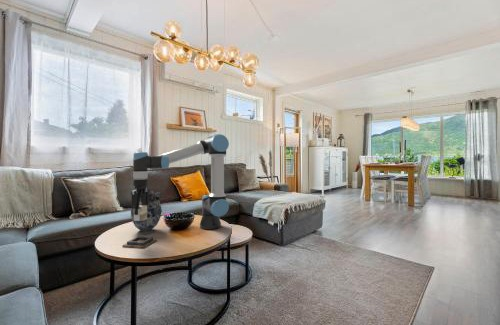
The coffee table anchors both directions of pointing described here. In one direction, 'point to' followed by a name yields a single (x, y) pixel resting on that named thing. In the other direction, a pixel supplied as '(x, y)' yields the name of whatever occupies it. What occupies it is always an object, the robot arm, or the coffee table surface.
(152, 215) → the decorative vase
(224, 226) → the coffee table surface
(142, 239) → the base board
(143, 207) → the birch block
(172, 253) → the coffee table surface
